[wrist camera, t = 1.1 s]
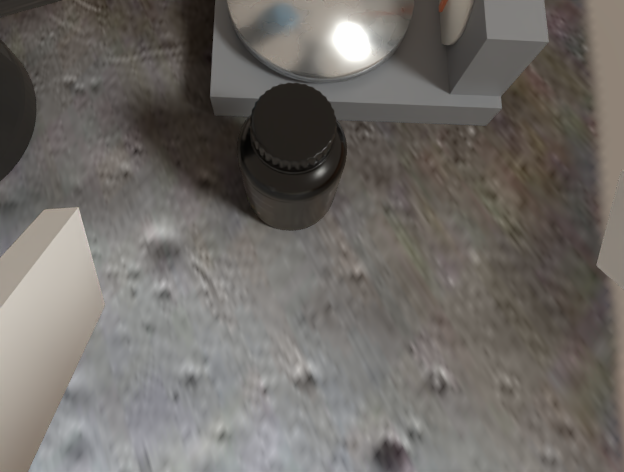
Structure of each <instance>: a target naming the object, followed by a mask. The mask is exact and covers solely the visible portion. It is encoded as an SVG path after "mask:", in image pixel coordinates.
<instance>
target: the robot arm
mask: <svg viewBox="0 0 624 472" xmlns="http://www.w3.org/2000/svg"><path fill="white" fill-rule="evenodd" d="M58 1H61V0H0V17H4V16H7V15H11V14H15V13H18V12H22V11H25V10H29V9H32V8H36V7H40V6H43V5H47V4H50V3H54V2H58ZM35 120H36V97H35V92H34V88H33V85H32V82H31V79H30V77H29V75H28V73H27V71H26V69H25V68H24V66H23V65H22V63H21V62H20V61H19V60H18V58H17V57H16V56H15V55H14V54H13V53H12V51H11V50H10V49H9V48H8V47H7V46H6V45H5V44H4V43H3V41H2V40H1V39H0V181H1V180H2V179H3V178H4V177H5V176H6V175H7V174H8V173H9V172H10V171H11V170H12V169H13V168H14V166H15V165H16V164H17V162H18V161H19V160H20V158H21V157H22V155H23V154H24V152H25V150H26V148H27V146H28V144H29V141H30V139H31V136H32V133H33V130H34V126H35ZM596 266H597V267H598V268H600V269H601V270H602V271H603V272H604V273H605V274H606V275H608V276H609V277H610V278H611V279H612V280H613V281H615V282H616V283H617V284H618V285H619V286H620V287H621V288H623V289H624V170H621V173H620V177H619V180H618V184H617V188H616V192H615V196H614V200H613V204H612V207H611V211H610V215H609V219H608V223H607V227H606V230H605V234H604V238H603V242H602V246H601V250H600V254H599V257H598V261H597V265H596ZM104 307H105V303H104V299H103V296H102V292H101V288H100V285H99V281H98V277H97V274H96V270H95V266H94V262H93V259H92V255H91V251H90V248H89V244H88V240H87V237H86V233H85V229H84V226H83V222H82V218H81V215H80V211H79V207H73V208H58V209H44V210H43V212H42V213H41V214H40V215H39V216H38V217H37V218H36V219H35V220H34V221H33V223H32V224H31V225H30V226H29V227H28V228H27V229H26V230H25V231H24V232H23V234H22V235H21V236H20V237H19V238H18V239H17V240H16V241H15V242H14V243H13V245H12V246H11V247H10V248H9V249H8V250H7V251H6V252H5V253H4V254H3V255H2V257H1V258H0V472H28V470H29V468H30V466H31V464H32V461H33V459H34V457H35V455H36V453H37V451H38V449H39V446H40V444H41V442H42V440H43V438H44V436H45V433H46V431H47V429H48V427H49V425H50V423H51V421H52V418H53V416H54V414H55V412H56V410H57V408H58V406H59V403H60V401H61V399H62V397H63V395H64V393H65V390H66V388H67V386H68V384H69V382H70V380H71V378H72V375H73V373H74V371H75V369H76V367H77V365H78V363H79V360H80V358H81V356H82V354H83V352H84V350H85V347H86V345H87V343H88V341H89V339H90V337H91V335H92V332H93V330H94V328H95V326H96V324H97V322H98V319H99V317H100V315H101V313H102V311H103V309H104Z"/></svg>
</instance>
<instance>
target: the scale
mask: <svg viewBox="0 0 624 472" xmlns="http://www.w3.org/2000/svg"><path fill="white" fill-rule="evenodd" d="M548 42H549V40H548V31H547V23H546V14H545V5H544V0H414V8H413V13H412V17H411V20H410V23H409V26H408V28H407V31H406V33H405V36H404V38H403V39H402V41H401V43H400V45H399V46H398V48H397V49H396V51H395V52H394V53H393V54H392V55H391V56H390V57H389V58H388V60H387V61H386V62H384V63H383V64H382V65H380V66H379V67H378V68H376V69H375V70H373V71H371V72H369V73H368V74H365V75H363V76H360V77H358V78H355V79H352V80H348V81H344V82H337V83H311V82H305V81H300V80H296V79H293V78H290V77H287V76H284V75H282V74H280V73H278V72H276V71H274V70H272V69H270V68H269V67H267V66H266V65H264V64H263V63H261V62H260V61H259V60H258V59H257V58H255V57H254V56H253V55H252V54H251V53H250V52H249V51H248V50H247V48H246V47H245V46H244V45H243V43H242V42H241V40H240V39H239V37H238V36H237V34H236V32H235V30H234V28H233V25H232V22H231V19H230V16H229V10H228V4H227V0H215V15H214V33H213V51H212V69H211V87H210V99H211V103H212V107H213V111H214V115H217V116H244V117H249V116H250V115H251V114H252V109H253V108H254V107H255V102H256V101H258V100H259V97H260V96H261V95H263V94H264V93H265V91H267V90H270V89H271V88H272V87H273V86H278V85H279V84H286V83H299V84H306V85H308V86H310V87H314V88H315V90H318V91H320V92H321V93H322V95H324V96H326V98H327V100H328V101H329V102H330V103H331V107H332V108H333V109H334V111H335V112H334V115H335V116H336V119H337V120H351V121H378V122H404V123H431V124H458V125H485V126H486V125H487V124H488V123H489V122H490V121H491V120H492V118H493V117H494V116H495V115H496V114H497V113H498V112H499V111H500V110H501V109H502V104H501V96H502V94H503V93H504V92H505V91H506V90H507V89H508V88H509V87H510V85H511V84H512V83H513V82H514V81H515V80H516V79H517V77H518V76H519V75H520V74H521V73H522V72H523V71H524V69H525V68H526V67H527V66H528V65H529V64H530V63H531V61H532V60H533V59H534V58H535V57H536V56H537V55H538V53H539V52H540V51H541V50H542V49H543V48H544V47H545V46H546V44H547V43H548Z"/></svg>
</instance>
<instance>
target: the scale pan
mask: <svg viewBox="0 0 624 472" xmlns="http://www.w3.org/2000/svg"><path fill="white" fill-rule="evenodd" d="M227 4H228V10H229V16H230V19H231V22H232V25H233V28H234V30H235V32H236V34H237V36H238V37H239V39H240V40H241V42H242V43H243V45H244V46H245V47H246V48H247V50H248V51H249V52H250V53H251V54H252V55H253V56H254V57H255V58H257V59H258V60H259V61H260V62H261V63H263V64H264V65H266V66H267V67H269V68H270V69H272V70H274V71H276V72H278V73H280V74H282V75H284V76H287V77H290V78H293V79H296V80H300V81H305V82H311V83H337V82H344V81H348V80H352V79H355V78H358V77H360V76H363V75H365V74H368V73H369V72H371V71H373V70H375V69H376V68H378V67H379V66H380V65H382V64H383V63H384V62H386V61H387V60H388V58H389V57H390V56H391V55H392V54H393V53H394V52H395V51H396V49H397V48H398V46H399V45H400V43H401V41H402V39H403V38H404V36H405V33H406V31H407V28H408V26H409V23H410V20H411V17H412V13H413V8H414V0H227Z"/></svg>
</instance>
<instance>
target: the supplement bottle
mask: <svg viewBox="0 0 624 472" xmlns="http://www.w3.org/2000/svg"><path fill="white" fill-rule="evenodd" d="M334 112H335V111H334V109H333V108H332V107H331V103H330V102H329V101H328V100H327V98H326V96H324V95H322V93H321V92H320V91H318V90H315V88H314V87H310V86H308V85H306V84H299V83H286V84H279V85H278V86H273V87H272V88H271V89H270V90H267V91H265V93H264V94H263V95H261V96H260V97H259V100H258V101H256V102H255V107H254V108H253V109H252V114H251V115H250V116H249V117H248V118H247V119H246V121H245V122H244V124H243V126H242V128H241V131H240V133H239V137H238V142H237V155H238V162H239V166H240V170H241V175H242V179H243V183H244V187H245V192H246V196H247V199H248V202H249V204H250V206H251V208H252V210H253V211H254V213H255V214H256V215H257V216H258V217H259V218H260V219H261V220H262V221H263V222H265V223H266V224H268V225H270V226H272V227H274V228H277V229H281V230H289V231H293V230H301V229H304V228H307V227H310V226H312V225H314V224H315V223H317V222H318V221H319V220H320V219H322V218H323V217H324V215H325V214H326V213H327V212H328V210H329V208H330V207H331V205H332V202H333V200H334V197H335V194H336V191H337V188H338V185H339V181H340V178H341V175H342V172H343V169H344V166H345V162H346V155H347V144H346V138H345V135H344V132H343V129H342V127H341V125H340V124H339V122H338V121H337V119H336V116H335V115H334Z"/></svg>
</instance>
